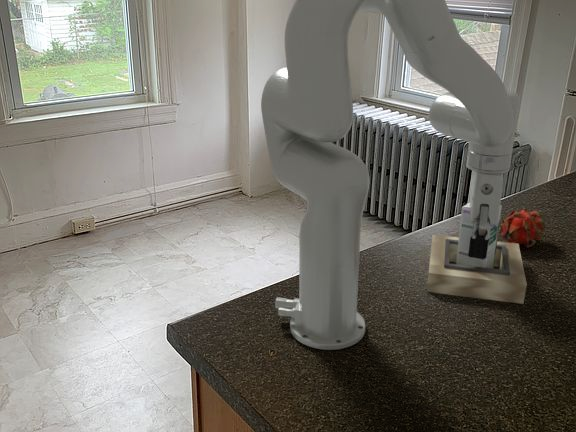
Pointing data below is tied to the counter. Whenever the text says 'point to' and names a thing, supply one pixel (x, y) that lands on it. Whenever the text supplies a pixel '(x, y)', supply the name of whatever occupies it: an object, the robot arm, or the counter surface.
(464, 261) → the syrup box
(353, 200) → the robot arm
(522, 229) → the dragon fruit
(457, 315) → the counter surface
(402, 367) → the counter surface
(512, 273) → the socket block
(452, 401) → the counter surface
